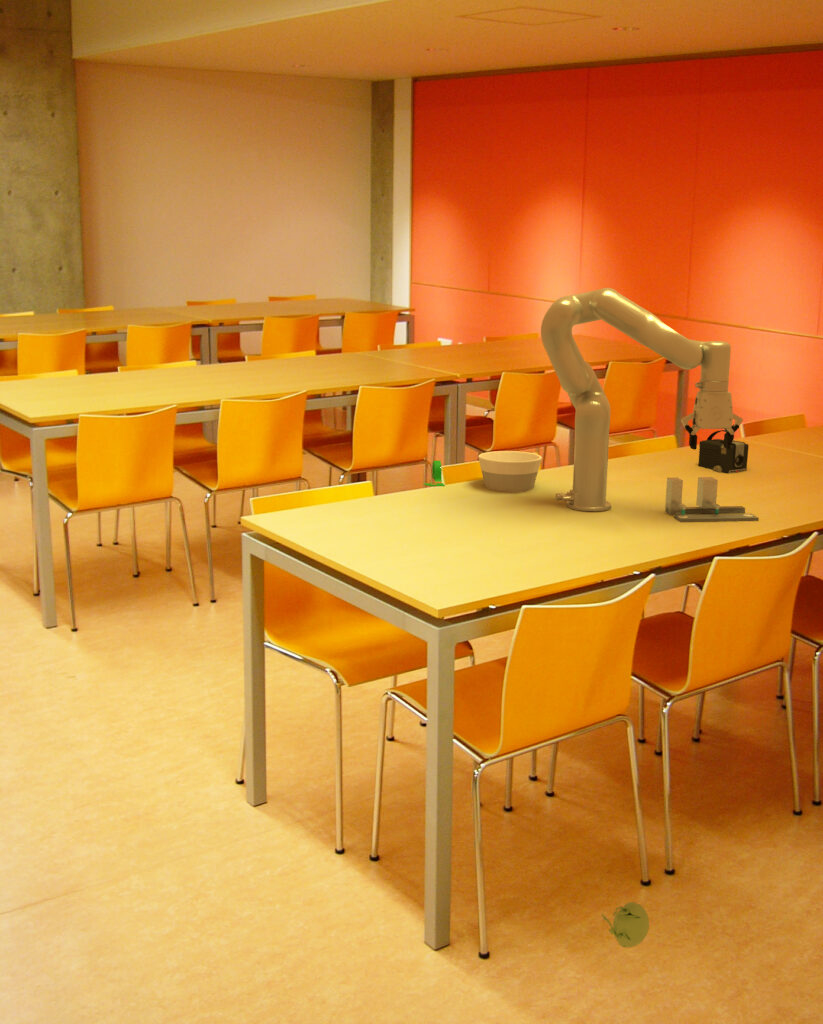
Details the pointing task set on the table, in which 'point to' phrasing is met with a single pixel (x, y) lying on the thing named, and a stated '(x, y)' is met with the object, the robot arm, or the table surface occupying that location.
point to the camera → (723, 455)
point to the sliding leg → (707, 493)
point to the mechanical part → (436, 474)
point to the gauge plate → (716, 517)
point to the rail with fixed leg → (677, 508)
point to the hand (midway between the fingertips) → (710, 448)
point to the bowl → (509, 470)
